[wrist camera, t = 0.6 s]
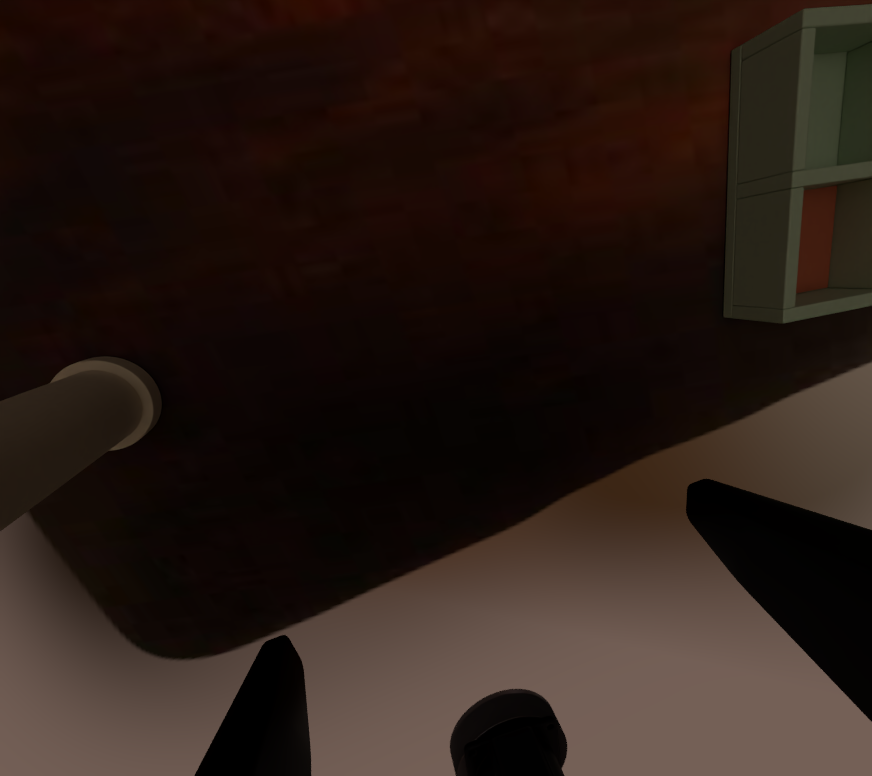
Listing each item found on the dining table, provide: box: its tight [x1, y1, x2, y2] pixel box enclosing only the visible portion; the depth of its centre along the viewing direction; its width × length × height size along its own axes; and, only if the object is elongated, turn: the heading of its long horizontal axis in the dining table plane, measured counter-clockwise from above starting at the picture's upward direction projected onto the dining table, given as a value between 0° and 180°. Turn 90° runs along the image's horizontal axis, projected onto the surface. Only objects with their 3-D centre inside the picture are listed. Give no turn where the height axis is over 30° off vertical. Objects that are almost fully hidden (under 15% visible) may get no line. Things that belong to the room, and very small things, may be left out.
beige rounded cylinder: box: [0, 356, 162, 531], centre depth 13 cm, size 4×4×13 cm
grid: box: [723, 4, 872, 323], centre depth 23 cm, size 13×13×4 cm
